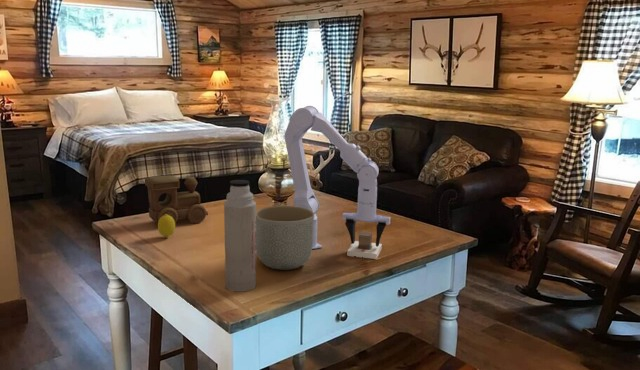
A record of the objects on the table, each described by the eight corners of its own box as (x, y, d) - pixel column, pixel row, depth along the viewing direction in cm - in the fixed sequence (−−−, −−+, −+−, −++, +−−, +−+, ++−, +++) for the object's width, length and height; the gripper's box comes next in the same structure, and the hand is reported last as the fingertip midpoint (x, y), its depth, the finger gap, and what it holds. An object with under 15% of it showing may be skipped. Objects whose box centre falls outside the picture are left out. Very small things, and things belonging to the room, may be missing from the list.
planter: (282, 250, 172) (283, 202, 168) (324, 263, 161) (326, 213, 158) (242, 264, 159) (242, 213, 155) (285, 280, 148) (286, 225, 145)
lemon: (154, 238, 179) (153, 214, 177) (166, 234, 184) (165, 211, 182) (167, 241, 177) (166, 217, 175) (179, 236, 181) (178, 213, 180)
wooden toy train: (153, 230, 188) (151, 182, 184) (145, 221, 197) (143, 176, 194) (209, 222, 198) (209, 177, 194) (199, 214, 207) (198, 171, 204)
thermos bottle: (259, 281, 147) (260, 178, 141) (250, 293, 139) (249, 185, 133) (231, 278, 149) (230, 176, 142) (220, 289, 141) (218, 183, 135)
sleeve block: (376, 259, 166) (376, 253, 165) (347, 255, 168) (347, 250, 167) (381, 248, 175) (381, 243, 175) (353, 245, 177) (354, 240, 177)
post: (369, 254, 169) (370, 236, 168) (357, 253, 170) (358, 234, 169) (371, 250, 173) (372, 232, 171) (360, 249, 174) (361, 231, 172)
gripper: (392, 200, 170) (390, 242, 173) (346, 196, 173) (345, 237, 176) (389, 206, 163) (386, 249, 166) (341, 202, 167) (340, 244, 170)
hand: (365, 244), depth 171 cm, fingers open, 7 cm apart
